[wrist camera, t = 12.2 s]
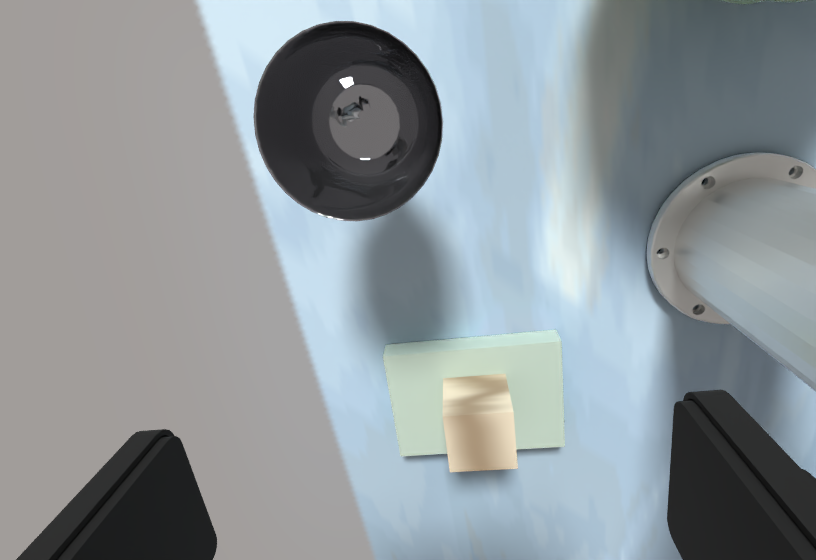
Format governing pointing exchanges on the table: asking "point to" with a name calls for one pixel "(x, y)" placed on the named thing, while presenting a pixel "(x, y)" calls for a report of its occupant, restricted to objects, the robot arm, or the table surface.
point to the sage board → (473, 356)
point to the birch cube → (479, 423)
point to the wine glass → (348, 120)
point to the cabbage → (754, 0)
